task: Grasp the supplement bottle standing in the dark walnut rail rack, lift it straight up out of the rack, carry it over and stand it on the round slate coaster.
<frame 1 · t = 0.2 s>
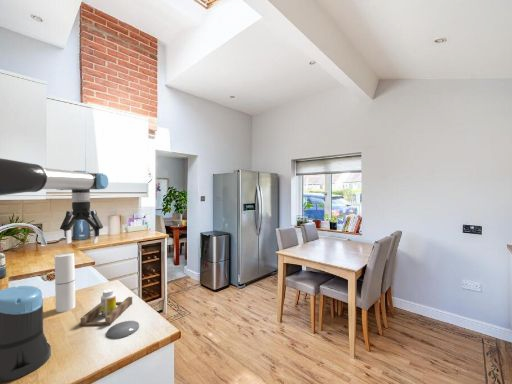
hand: (82, 243, 125), 28 cm above the counter, fingers open, 13 cm apart
cylindrical container: (65, 308, 114), on the counter
supplement bottle: (108, 314, 108), resting in walnut rack
slate pad: (123, 329, 96), on the counter
walnut rack: (108, 313, 108), on the counter
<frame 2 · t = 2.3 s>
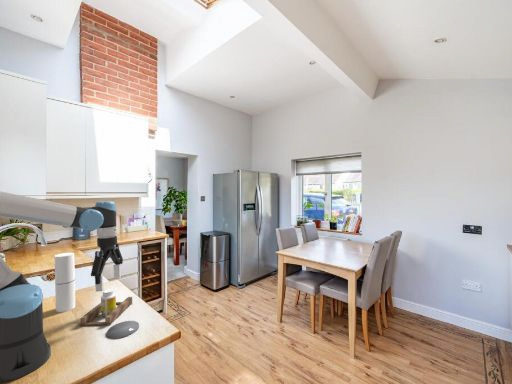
hand: (109, 284, 108), 13 cm above the counter, fingers open, 13 cm apart
nothing on the counter moved.
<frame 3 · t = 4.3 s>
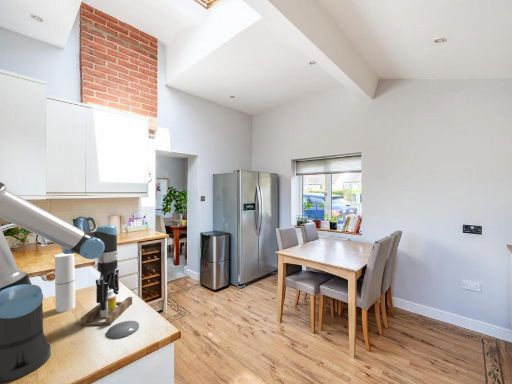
hand: (108, 312, 108), 0 cm above the counter, fingers closed on supplement bottle, 6 cm apart
supplement bottle: (108, 314, 108), resting in walnut rack, touching gripper
everything else where it was.
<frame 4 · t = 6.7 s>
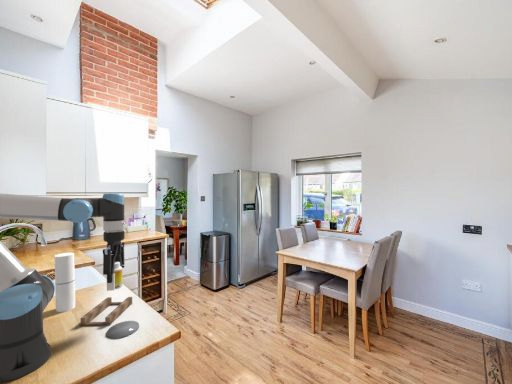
hand: (114, 286, 101), 15 cm above the counter, fingers closed on supplement bottle, 6 cm apart
supplement bottle: (114, 288, 101), point 14 cm above the counter, touching gripper
everything else where it was.
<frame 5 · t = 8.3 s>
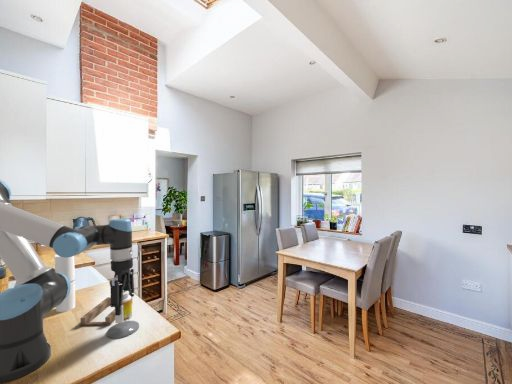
hand: (124, 317, 96), 5 cm above the counter, fingers closed on supplement bottle, 6 cm apart
supplement bottle: (124, 319, 96), point 4 cm above the counter, touching gripper
everything else where it was.
when the fingers open (2 cm above the counter, at t = 9.3 s): supplement bottle stays where it is, resting on slate pad.
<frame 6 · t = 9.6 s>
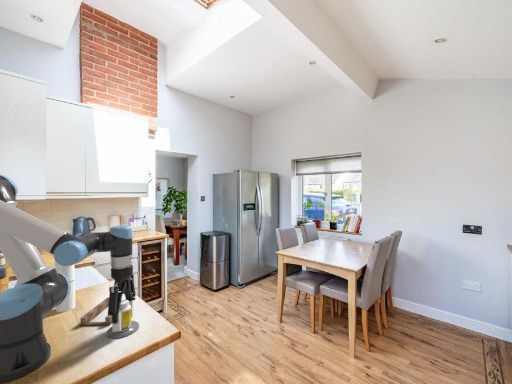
hand: (123, 323, 96), 2 cm above the counter, fingers open, 9 cm apart
supplement bottle: (123, 328, 96), resting on slate pad
everything else where it was.
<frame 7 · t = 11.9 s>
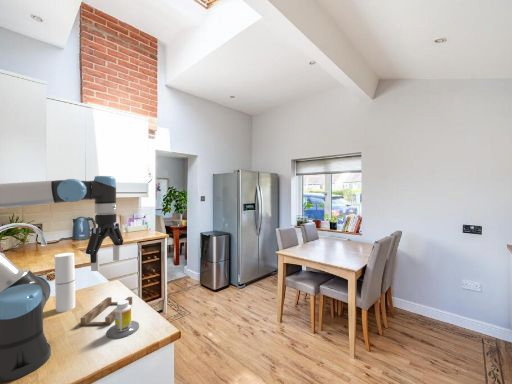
hand: (106, 265, 101), 23 cm above the counter, fingers open, 13 cm apart
nothing on the counter moved.
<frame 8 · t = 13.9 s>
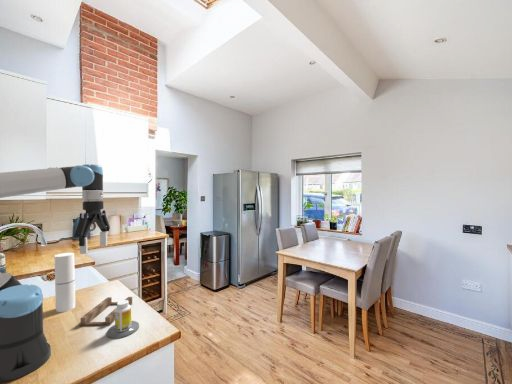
hand: (94, 249, 107), 29 cm above the counter, fingers open, 13 cm apart
nothing on the counter moved.
at the end: supplement bottle 0.0 cm from the slate pad (horizontally); supplement bottle tilted 0°; the gripper is holding nothing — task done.
